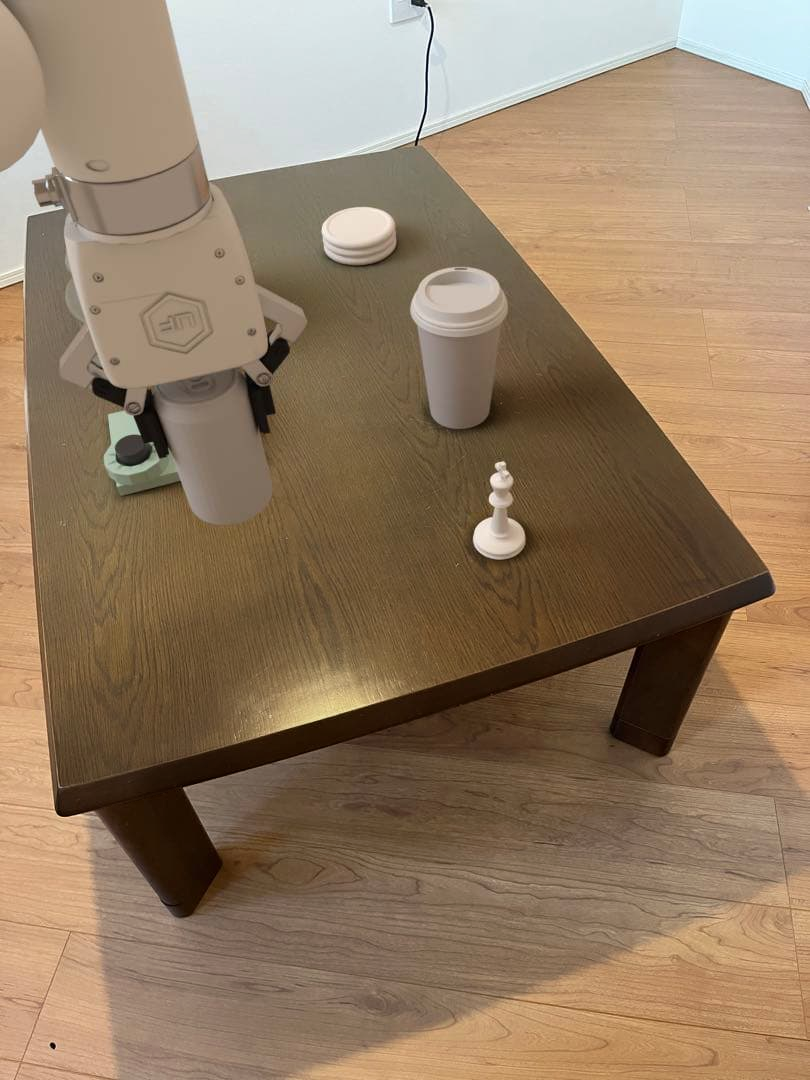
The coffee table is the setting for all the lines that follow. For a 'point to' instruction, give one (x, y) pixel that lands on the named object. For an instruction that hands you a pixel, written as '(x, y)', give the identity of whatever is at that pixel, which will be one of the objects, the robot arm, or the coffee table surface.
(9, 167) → the robot arm
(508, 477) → the chess piece
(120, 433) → the scale
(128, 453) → the button
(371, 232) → the coaster
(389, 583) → the coffee table surface
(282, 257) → the coffee table surface
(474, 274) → the coffee cup
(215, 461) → the beverage can
